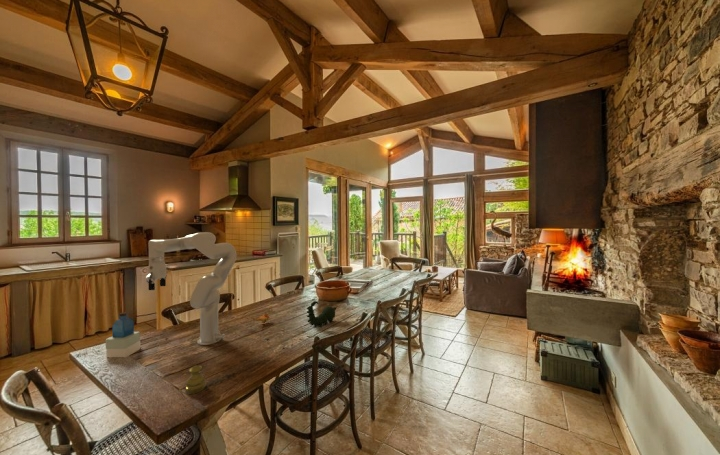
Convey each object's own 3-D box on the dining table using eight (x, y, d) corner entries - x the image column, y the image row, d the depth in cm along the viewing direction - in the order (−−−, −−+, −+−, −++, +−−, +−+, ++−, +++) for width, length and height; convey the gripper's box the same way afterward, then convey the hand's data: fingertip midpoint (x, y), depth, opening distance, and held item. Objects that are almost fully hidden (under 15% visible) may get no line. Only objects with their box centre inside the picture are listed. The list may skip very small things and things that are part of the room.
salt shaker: (181, 392, 117) (181, 368, 116) (197, 382, 124) (197, 360, 123) (194, 396, 114) (193, 372, 114) (209, 386, 121) (209, 363, 121)
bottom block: (140, 349, 155) (140, 340, 155) (125, 358, 145) (125, 348, 145) (122, 349, 155) (122, 340, 155) (106, 358, 145) (106, 348, 145)
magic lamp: (248, 327, 187) (247, 311, 186) (269, 319, 202) (269, 304, 202) (254, 329, 183) (254, 313, 183) (275, 321, 199) (275, 305, 199)
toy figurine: (314, 333, 182) (341, 320, 200) (312, 305, 180) (340, 294, 198) (305, 329, 188) (332, 316, 207) (303, 302, 187) (331, 292, 205)
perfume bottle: (123, 337, 147) (123, 315, 146) (112, 337, 147) (112, 314, 147) (133, 332, 153) (133, 311, 153) (123, 332, 154) (122, 311, 153)
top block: (139, 340, 155) (139, 331, 155) (125, 348, 145) (125, 339, 145) (121, 340, 155) (121, 331, 155) (105, 348, 145) (105, 339, 145)
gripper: (152, 262, 160) (153, 291, 160) (172, 257, 177) (172, 284, 178) (139, 262, 160) (140, 291, 160) (160, 258, 177) (160, 284, 177)
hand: (157, 288), depth 169 cm, fingers open, 9 cm apart
